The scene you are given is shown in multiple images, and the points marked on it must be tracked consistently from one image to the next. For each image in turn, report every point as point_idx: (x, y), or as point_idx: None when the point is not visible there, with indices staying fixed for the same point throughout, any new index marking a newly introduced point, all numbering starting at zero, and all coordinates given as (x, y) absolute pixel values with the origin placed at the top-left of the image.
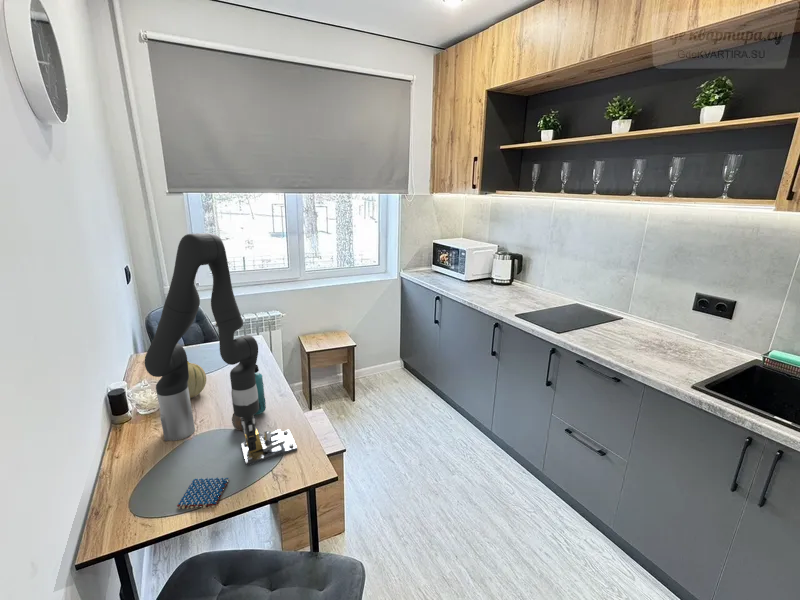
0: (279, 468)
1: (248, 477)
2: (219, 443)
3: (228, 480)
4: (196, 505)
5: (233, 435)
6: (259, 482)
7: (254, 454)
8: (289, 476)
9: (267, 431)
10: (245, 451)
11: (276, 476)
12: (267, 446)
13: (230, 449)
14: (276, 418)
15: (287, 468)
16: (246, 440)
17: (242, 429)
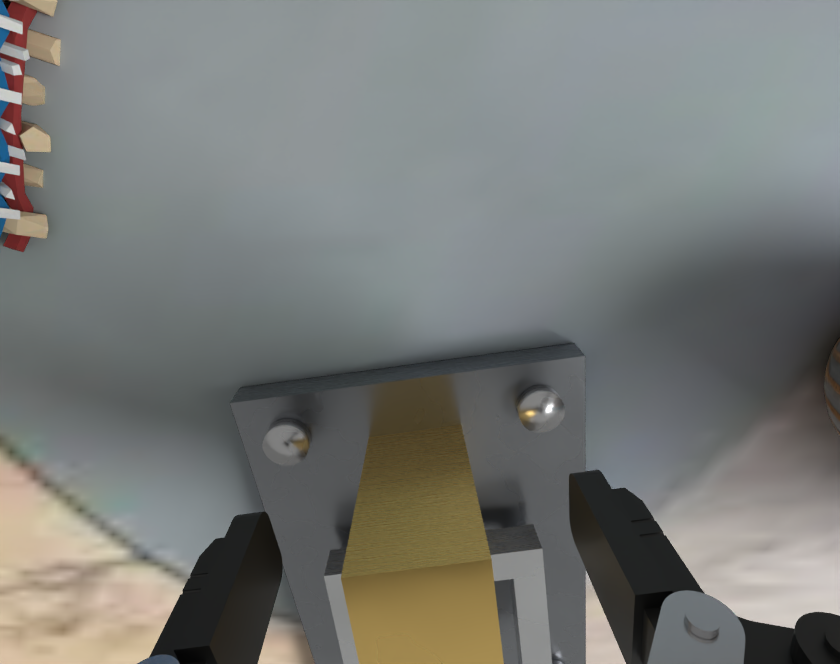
0: (156, 601)
1: (76, 408)
2: (745, 106)
3: (11, 248)
4: None
5: (806, 261)
6: (5, 483)
7: (344, 471)
8: (57, 647)
9: None
10: (419, 399)
11: (66, 583)
12: (344, 613)
13: (562, 239)
14: (825, 599)
15: (146, 641)
16: (348, 554)
17: (832, 365)
